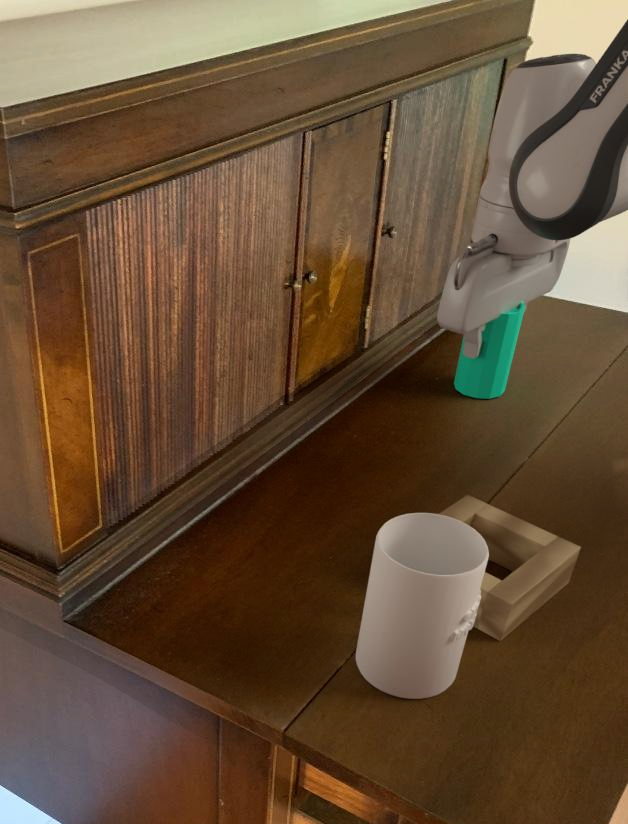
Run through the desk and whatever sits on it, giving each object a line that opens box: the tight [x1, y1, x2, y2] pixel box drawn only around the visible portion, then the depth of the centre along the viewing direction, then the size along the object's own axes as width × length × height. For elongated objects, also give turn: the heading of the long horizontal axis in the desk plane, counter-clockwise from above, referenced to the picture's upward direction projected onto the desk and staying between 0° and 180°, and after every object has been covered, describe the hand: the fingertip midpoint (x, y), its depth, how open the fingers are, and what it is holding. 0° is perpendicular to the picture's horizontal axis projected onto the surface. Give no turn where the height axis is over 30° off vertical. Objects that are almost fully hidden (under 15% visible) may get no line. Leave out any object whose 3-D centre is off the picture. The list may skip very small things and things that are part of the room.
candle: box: [453, 302, 526, 400], centre depth 107 cm, size 6×6×12 cm
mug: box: [355, 512, 489, 700], centre depth 71 cm, size 8×12×12 cm
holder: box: [438, 494, 582, 642], centre depth 81 cm, size 11×11×4 cm
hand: (488, 347), depth 108 cm, fingers closed on candle, 5 cm apart
